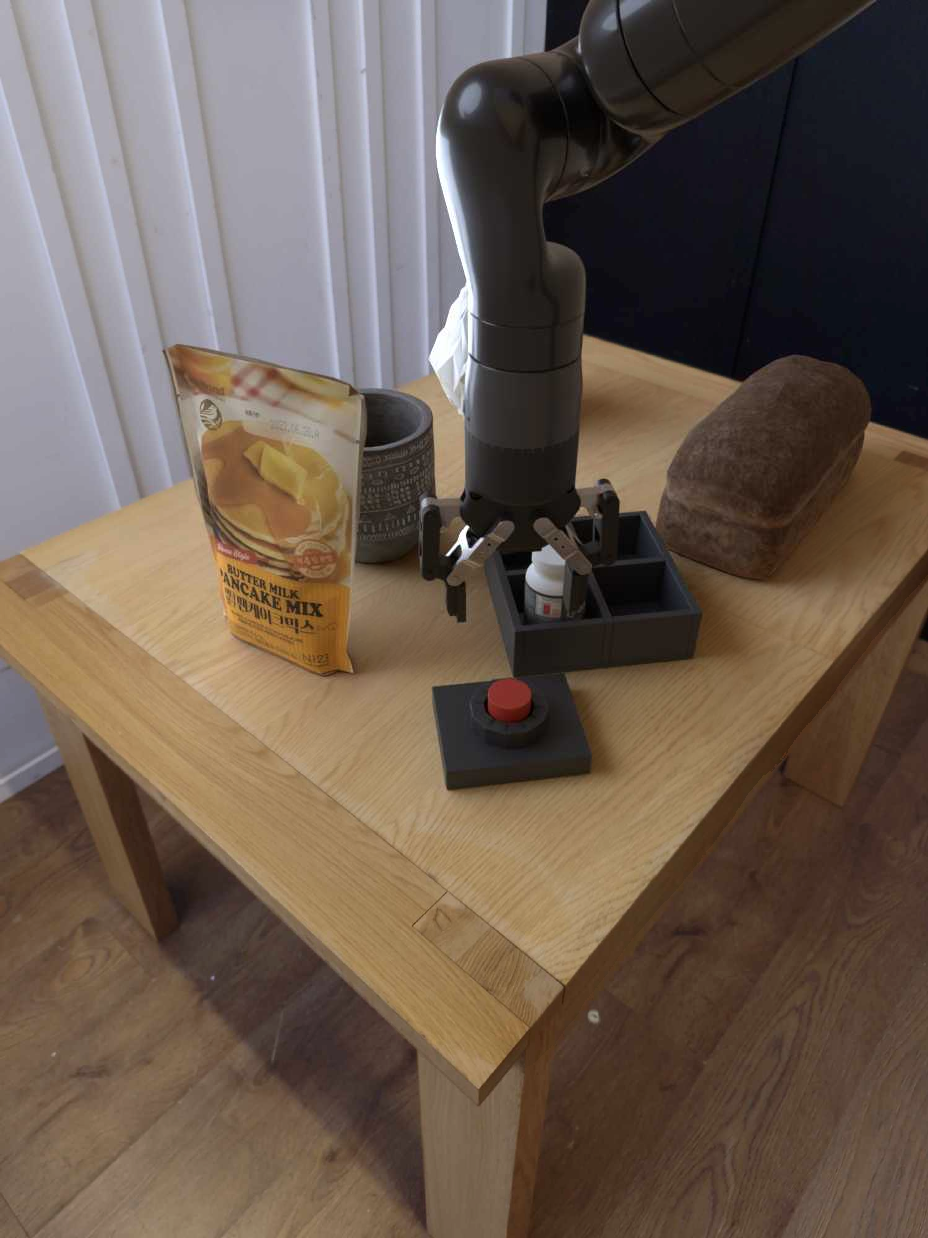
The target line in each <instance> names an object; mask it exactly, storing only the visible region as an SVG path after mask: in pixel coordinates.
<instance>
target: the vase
mask: <svg viewBox="0 0 928 1238" xmlns="http://www.w3.org/2000/svg"><path fill="white" fill-rule="evenodd" d="M447 315H448V316H447V319H446V322H445V326H444V327H443V328H442V329H441V330H440V332H439V333H438V335H437V337H436V340H435V342H434V344H433V346H432V349H431V352H430V354H429V357H428V360H429V361H428V362H430V364H431V366H432V369H433V370H434V372H435V375H436V376H437V379H438V380H439V383H440V385H441V388H442V390H443V392H444V393H445V395H446V397H447V399H448V401H449V403H450V404H451V405H452V406H454V407H456V408H457V413H458V415H461V416H462V420H463V422H465V415H464V411H463V399H464V386H465V375H466V368H467V360H468V284H467V280H466V281H465V285H464V286H463V287H462V288H461V289H460V292H459V296H458V297H457V298H456V299H455V301H454V302H453V303H452V304H451V306H450V308H449V312H448V314H447Z"/></svg>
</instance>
